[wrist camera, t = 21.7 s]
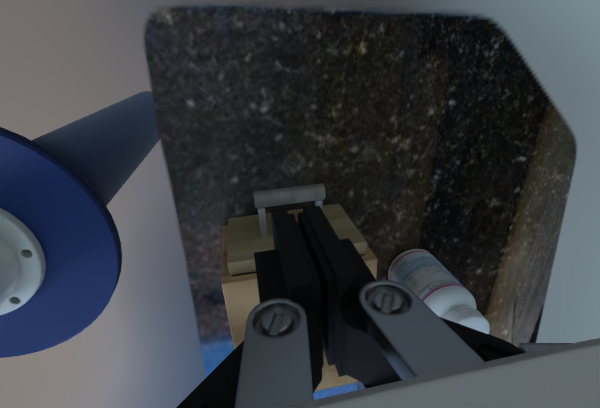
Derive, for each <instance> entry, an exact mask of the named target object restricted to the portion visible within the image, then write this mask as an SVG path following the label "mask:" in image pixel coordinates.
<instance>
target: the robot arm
mask: <svg viewBox="0 0 600 408" xmlns="http://www.w3.org/2000/svg"><path fill="white" fill-rule="evenodd" d="M271 221H272V231H273V241H274V250H268V251H261V252H254V259H255V267H256V275H257V283H258V291H259V300H260V304H258V305H257V306H255V307H254V308H253V309H252V311H251V312H250V313H249V315H248V318H247V322H246V329H245V337H244V340H243V341H242V342H241V343H240V344H239V345H238V346H237V347H236V348H235V349H234V350H233V351H232V352H231V353H230V354H229V355H228V356H227V357H226V358H225V359H224V360H223V361H222V362H221V363H220V364H219V365H218V366H217V367H216V368H215V369H214V370H213V371H212V373H211V374H210V375H209V376H208V377H207V378H206V379H205V380H204V381H203V382H202V383H201V384H200V385H199V386H198V387H197V388H196V389H195V390H194V391H193V392H192V393H191V394H190V395H189V396H188V397H187V398H186V399H185V400H184V401H183V402H182V403H181V404H180V405H179V406H178V407H177V408H600V338H599V339H592V340H587V341H583V342H577V343H519V346H518V348H517V347H516V346H514V345H513V344H511V343H509V342H507V341H505V340H502V339H500V338H497V337H494V336H492V335H489V334H486V333H483V332H480V331H478V330H475V329H472V328H469V327H466V326H464V325H461V324H458V323H455V322H453V321H450V320H447V319H444V318H441V317H439V316H438V315H437V314H436V313H434V312H433V311H432V310H431V309H430V308H429V307H428V306H427V305H426V304H425V303H424V302H423V301H422V300H421V299H420V298H419V297H418V296H417V295H416V294H415V293H414V292H413V291H412V290H411V289H409V288H408V287H407V286H405V285H403V284H401V283H398V282H395V281H391V280H376V279H375V277H374V276H373V274H372V272H371V271H370V269H369V268H368V266H367V265H366V263H365V262H364V260H363V259H362V257H361V255H360V254H359V252H358V251H357V249H356V248H355V246H354V245H353V243H352V242H351V240H350V239H348V238H346V239H340V240H339V238H338V236H337V235H336V233H335V231H334V230H333V228H332V226H331V224H330V223H329V221H328V219H327V218H326V216H325V214H324V213H323V211H322V209H321V207H320V206H314V207H306V208H303V212H300V213H298V223H297V221H296V218H295V216H294V214H288V212H287V210H284V211H277V212H271ZM45 270H46V262H45V255H44V253H43V250H42V248H41V245H40V243H39V242H38V240H37V239H36V237H35V236H34V234H33V233H32V232H31V231H30V230H29V229H28V228H27V227H26V226H25V224H24V223H22V222H21V221H20V220H19V219H17V218H16V217H15V216H13V215H12V214H11V213H9V212H7V211H5V210H3V209H2V208H0V315H3V314H6V313H8V312H11V311H13V310H16V309H17V308H19V307H20V306H22V305H23V304H25V303H26V302H27V301H28V300H29V299H30V298H31V297H32V296H33V295H34V294H35V292H36V291H37V290H38V288H39V287H40V286H41V284H42V281H43V279H44V277H45ZM323 350H324V353H325V357H326V360H327V363H328V365H329V366H332V365H335V367H336V370H337V373H338V376H339V377H341V376H345V375H348V376H350V377H352V378H354V379H356V380H357V387H358V389H359V390H357V391H353V392H348V393H344V394H339V395H335V396H331V397H326V398H322V399H318V400H314V399H313V393H314V391H315V390H316V388H317V387H318V385H319V384H320V382H321V381H322V367H324V357H323Z"/></svg>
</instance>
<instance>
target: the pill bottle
mask: <svg viewBox="0 0 600 408" xmlns="http://www.w3.org/2000/svg"><path fill="white" fill-rule="evenodd" d="M388 278H389V280H391V281H395V282H398V283H401V284H403V285H405V286H407V287H408V288H409V289H411V290H412V291H413V292H414V293H415V294H416V295H417V296H418V297H419V298H420V299H421V300H422V301H423V302H424V303H425V304H426V305H427V306H428V307H429V308H430V309H431V310H432V311H433V312H434V313H436V314H437V315H438V316H439V317H441V318H444V319H447V320H450V321H453V322H455V323H458V324H461V325H464V326H466V327H469V328H472V329H475V330H478V331H480V332H483V333H486V334H489V330H490V326H489V323H488V321H487V320H486V319H485V318H484V317H483V316H482V314H481V313H480V312H479V311H477V310H476V302H475V299H474V297H473V296H472V294H471V293H470V292H469V291H468V290H467V289H466V288H465V287H464V286H463V285H462V284H461V283H460V282H459V281H458V280H457V279H456V278H455V277H454V276H453V275H452V274H451V273H450V272H449V271H448V270H447V269H446V268H445V267H444V266H443V265H442V264H441V263H440V262H439V261H438V260H437V259H436V258H435V257H434V256H433V255H432V254H430V253H429V252H428V251H426V250H423V249H411V250H407V251H405V252H403V253H401V254H399V255H398V256H397V257H396V258H395V259H394V260H393V261H392V263H391V265H390V267H389V271H388Z"/></svg>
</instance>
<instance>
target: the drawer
mask: <svg viewBox="0 0 600 408" xmlns="http://www.w3.org/2000/svg"><path fill="white" fill-rule="evenodd" d="M253 196H254V204H255V208H258V214H257V215H250V216H243V217H235V218H228V258H227V264H228V269H229V275H236V274H240V275H245V274H252V273H256V267H255V259H254V252H261V251H268V250H274V241H273V231H272V221H271V213H265V207H270V206H278V205H286V204H293V203H301V202H308V201H315V206H320V207H321V209H322V211H323V213H324V214H325V216H326V218H327V219H328V221H329V223H330V224H331V226H332V228H333V230H334V231H335V233H336V235H337V236H338V238H339V240H340V239H346V238H348V239H350V240H351V242H352V243H353V245H354V246H355V248H356V249H357V251H358V252H359V254H360V255H361V254H366V251H367V241H366V240H365V239H364V237H363V236H362V234H361V233H360V232H359V230H358V229H357V228H356V226H355V225H354V223H353V222H352V221H351V219H350V218H349V217H348V215H347V214H346V212H345V211H344V210H343V208H342V207H341V206H340V204H332V205H324V206H323V201H322V200H323V199H325V197H326V191H325V186H324V184H323V183H320V184H312V185H304V186H296V187H288V188H280V189H272V190H264V191H256V192H253ZM287 212H288V214H294V216H295V218H296V221H297V223H298V213H300V212H303V208H302V209H295V210H287Z"/></svg>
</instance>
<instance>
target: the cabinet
mask: <svg viewBox="0 0 600 408" xmlns="http://www.w3.org/2000/svg"><path fill="white" fill-rule="evenodd" d="M361 257H362V259H363V260H364V262H365V263H366V265H367V266H368V268H369V269H370V271H371V272H372V274H373V276H374V277H375V279H376V275H377V258H376V256H375V255H374V254H373V252H372V251H371V249H370V248H369V247H368V245H367V251H366V254H361ZM227 258H228V225H226V226H224V233H223V262H222V288H223V293H224V298H225V304H226V309H227V314H228V319H229V324H230V329H231V334H232V340H233V345H234V349H235V348H236V347H237V346H238V345H239V344H240V343H241V342H242V341H243V340H244V337H245V329H246V322H247V318H248V315H249V313H250V312H251V311H252V309H253V308H254V307H255V306H257V305H258V304H260V300H259V291H258V283H257V275H256V273H252V274H245V275H240V274H236V275H229V269H228V264H227ZM323 357H324V367H322V381H321V382H320V384H319V385H318V387H317V388H316V390H315V391H319V390H323V389H328V388H332V387H337V386H341V385H346V384H351V383H355V382H357V380H356V379H354V378H352V377H350V376H348V375H345V376H341V377H339V376H338V373H337V370H336V367H335V365H332V366H329V365H328V363H327V360H326V357H325V353H324V350H323Z"/></svg>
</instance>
